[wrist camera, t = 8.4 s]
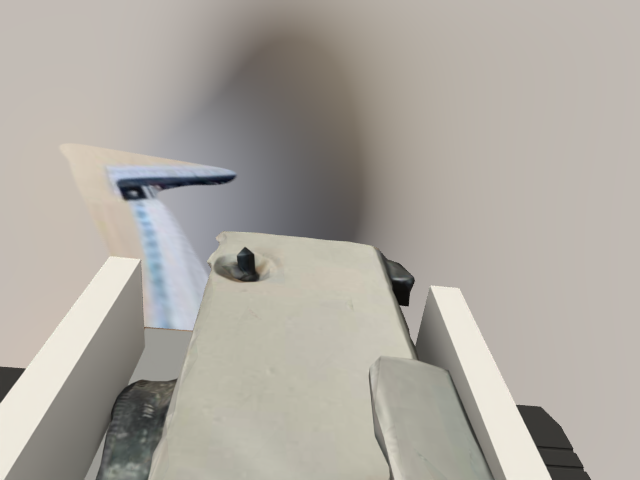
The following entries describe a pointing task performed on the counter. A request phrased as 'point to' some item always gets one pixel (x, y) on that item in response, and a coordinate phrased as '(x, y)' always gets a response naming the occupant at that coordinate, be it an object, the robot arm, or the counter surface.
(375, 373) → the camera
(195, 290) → the counter surface
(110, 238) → the counter surface
